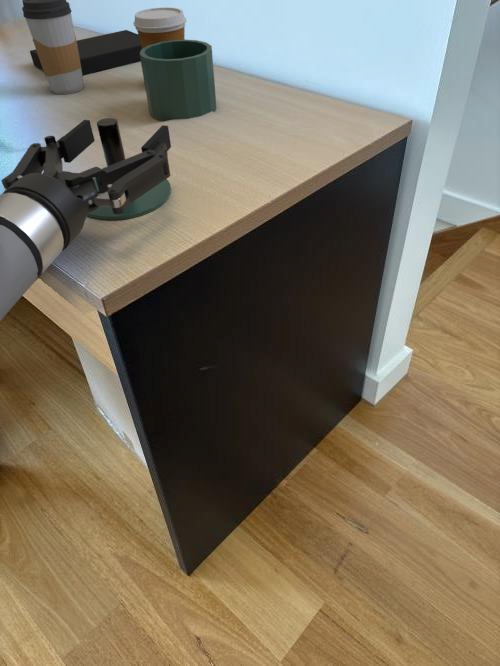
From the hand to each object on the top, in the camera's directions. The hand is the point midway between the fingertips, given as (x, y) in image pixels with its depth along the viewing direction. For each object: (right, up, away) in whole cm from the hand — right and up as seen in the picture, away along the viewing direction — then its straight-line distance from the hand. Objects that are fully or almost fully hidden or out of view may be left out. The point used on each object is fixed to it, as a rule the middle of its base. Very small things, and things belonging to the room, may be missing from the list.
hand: (127, 133), depth 65 cm
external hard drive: (-18, +34, +47) cm, 61 cm away
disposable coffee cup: (0, +23, +34) cm, 41 cm away
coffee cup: (-20, +22, +34) cm, 45 cm away
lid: (-1, -7, +1) cm, 8 cm away
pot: (+4, +14, +24) cm, 28 cm away
